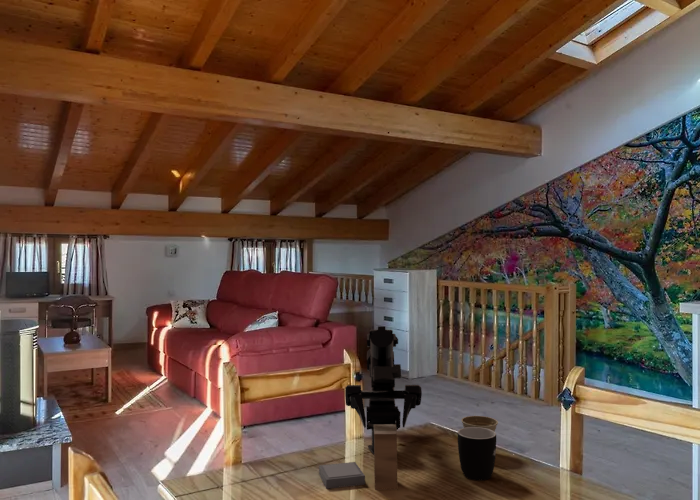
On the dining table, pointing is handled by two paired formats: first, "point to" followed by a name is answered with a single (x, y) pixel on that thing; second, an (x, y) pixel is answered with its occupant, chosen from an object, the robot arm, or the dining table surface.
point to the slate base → (341, 475)
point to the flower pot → (479, 422)
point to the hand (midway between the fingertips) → (384, 426)
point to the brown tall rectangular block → (385, 456)
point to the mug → (477, 452)
